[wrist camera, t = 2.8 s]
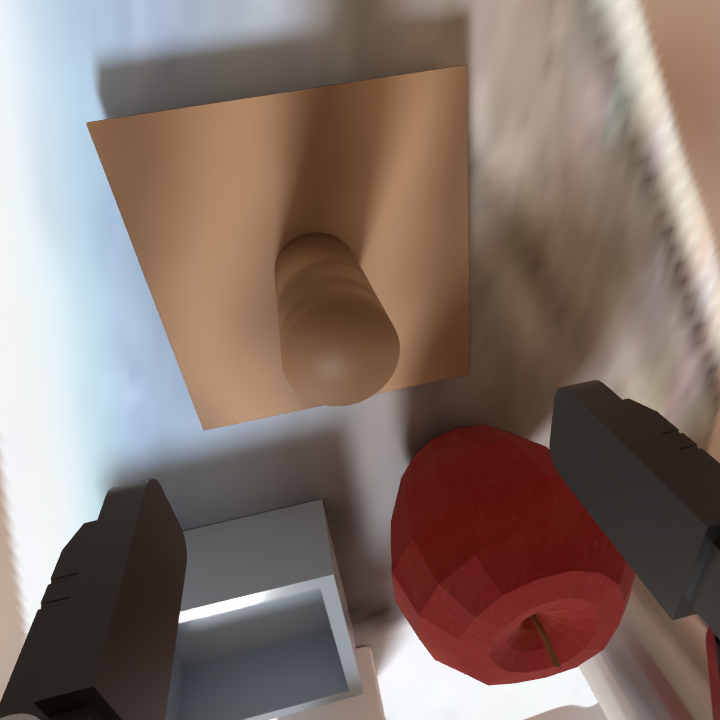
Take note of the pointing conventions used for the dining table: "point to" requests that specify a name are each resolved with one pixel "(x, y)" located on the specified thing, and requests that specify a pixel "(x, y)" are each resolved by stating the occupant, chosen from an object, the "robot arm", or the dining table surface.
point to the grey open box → (262, 620)
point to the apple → (502, 560)
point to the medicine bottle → (356, 714)
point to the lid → (303, 239)
